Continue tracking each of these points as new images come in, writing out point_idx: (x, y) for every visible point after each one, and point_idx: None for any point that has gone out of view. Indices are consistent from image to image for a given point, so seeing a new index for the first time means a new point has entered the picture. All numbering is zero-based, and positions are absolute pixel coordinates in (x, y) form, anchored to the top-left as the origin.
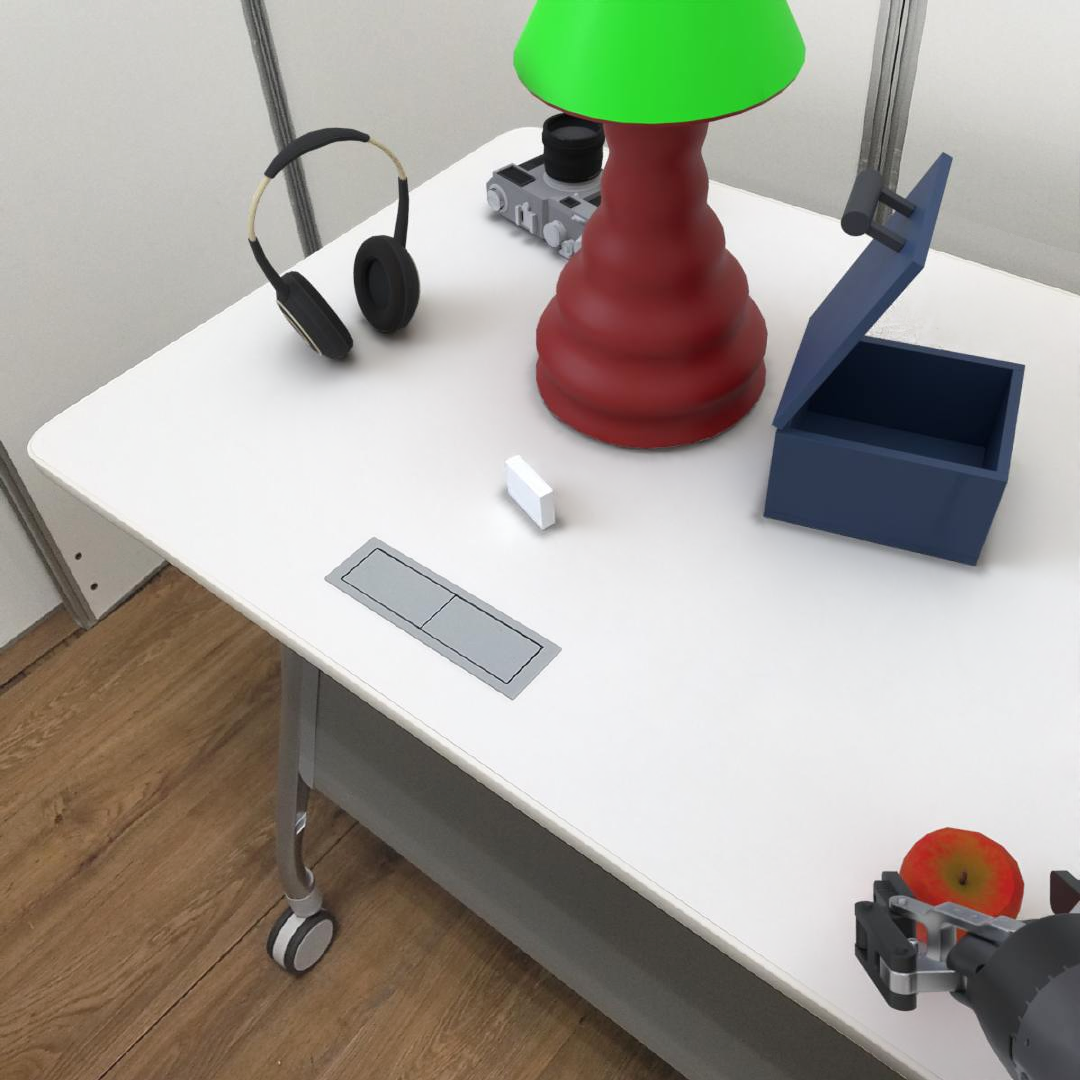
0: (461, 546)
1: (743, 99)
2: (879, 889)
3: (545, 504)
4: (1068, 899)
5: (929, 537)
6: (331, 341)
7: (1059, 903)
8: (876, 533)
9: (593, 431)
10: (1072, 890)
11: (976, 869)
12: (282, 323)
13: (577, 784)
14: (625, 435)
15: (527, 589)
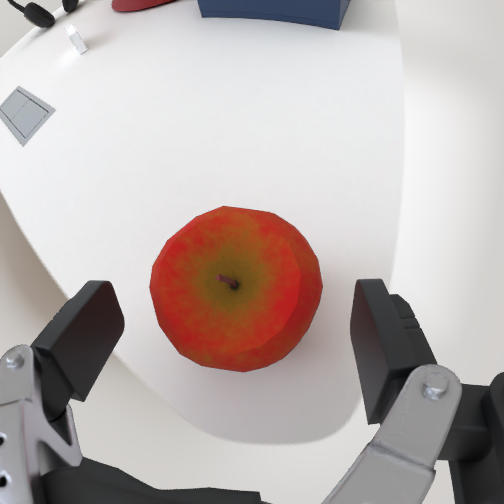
0: (44, 75)
1: None
2: (58, 314)
3: (74, 39)
4: (369, 346)
5: (303, 10)
6: (37, 19)
7: (358, 336)
8: (270, 12)
9: (124, 7)
10: (377, 340)
11: (251, 269)
12: None
13: (28, 193)
14: (137, 3)
15: (57, 84)
